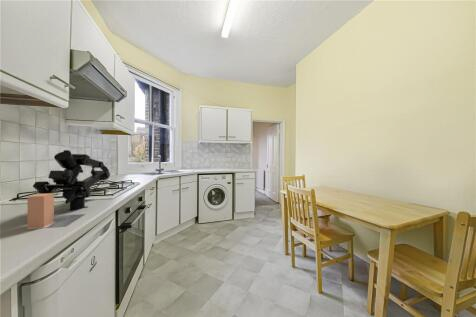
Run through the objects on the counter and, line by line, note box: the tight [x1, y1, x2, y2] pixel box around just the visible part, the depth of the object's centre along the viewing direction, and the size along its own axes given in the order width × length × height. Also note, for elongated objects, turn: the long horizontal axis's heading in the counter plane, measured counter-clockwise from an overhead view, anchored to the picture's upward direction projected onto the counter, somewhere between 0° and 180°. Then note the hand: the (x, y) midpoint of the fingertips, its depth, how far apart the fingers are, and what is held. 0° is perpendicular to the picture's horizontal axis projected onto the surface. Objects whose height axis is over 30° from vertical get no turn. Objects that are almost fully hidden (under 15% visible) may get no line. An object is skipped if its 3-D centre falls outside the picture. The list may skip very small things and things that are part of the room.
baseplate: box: [24, 213, 86, 231], centre depth 75 cm, size 15×12×1 cm
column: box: [26, 192, 55, 229], centre depth 70 cm, size 5×5×12 cm
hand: (53, 203), depth 76 cm, fingers open, 9 cm apart
